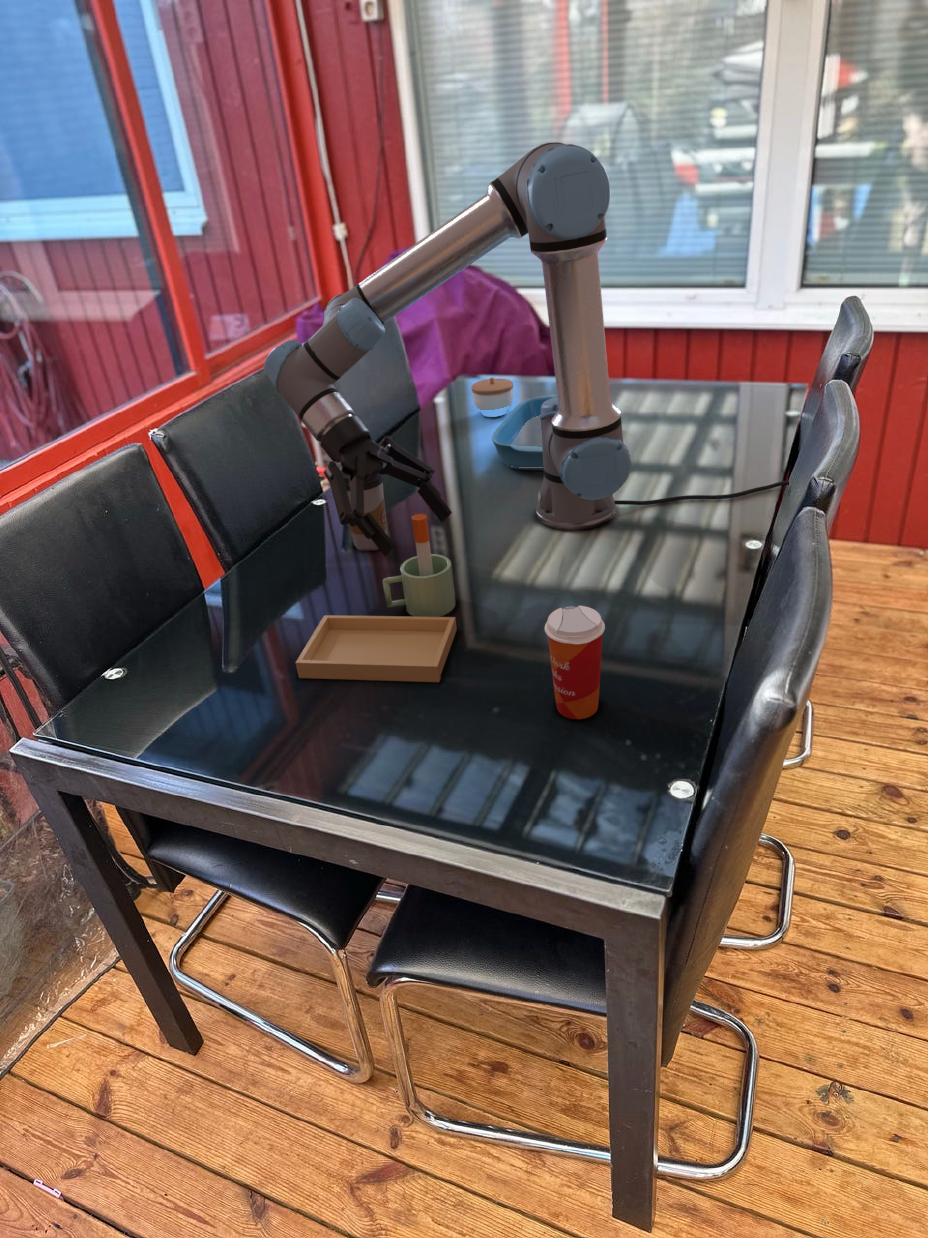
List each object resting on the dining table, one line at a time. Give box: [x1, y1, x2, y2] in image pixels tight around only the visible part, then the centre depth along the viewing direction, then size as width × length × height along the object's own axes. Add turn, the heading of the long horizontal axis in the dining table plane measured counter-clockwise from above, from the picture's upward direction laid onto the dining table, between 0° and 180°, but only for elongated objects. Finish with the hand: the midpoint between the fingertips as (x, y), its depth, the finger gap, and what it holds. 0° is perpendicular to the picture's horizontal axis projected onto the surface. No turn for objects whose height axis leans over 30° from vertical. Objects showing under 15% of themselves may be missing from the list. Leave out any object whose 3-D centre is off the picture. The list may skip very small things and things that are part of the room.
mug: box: [382, 553, 457, 617], centre depth 144 cm, size 11×8×8 cm
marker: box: [411, 513, 434, 576], centre depth 142 cm, size 2×2×16 cm
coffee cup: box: [342, 472, 388, 551], centre depth 166 cm, size 8×8×15 cm
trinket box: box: [470, 377, 514, 410], centre depth 227 cm, size 11×11×9 cm
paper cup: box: [544, 605, 606, 720], centre depth 116 cm, size 8×8×14 cm
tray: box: [295, 614, 458, 683], centre depth 135 cm, size 22×14×3 cm, turn 80°
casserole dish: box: [491, 394, 558, 472], centre depth 202 cm, size 37×22×7 cm, turn 162°
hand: (419, 534), depth 140 cm, fingers open, 13 cm apart
